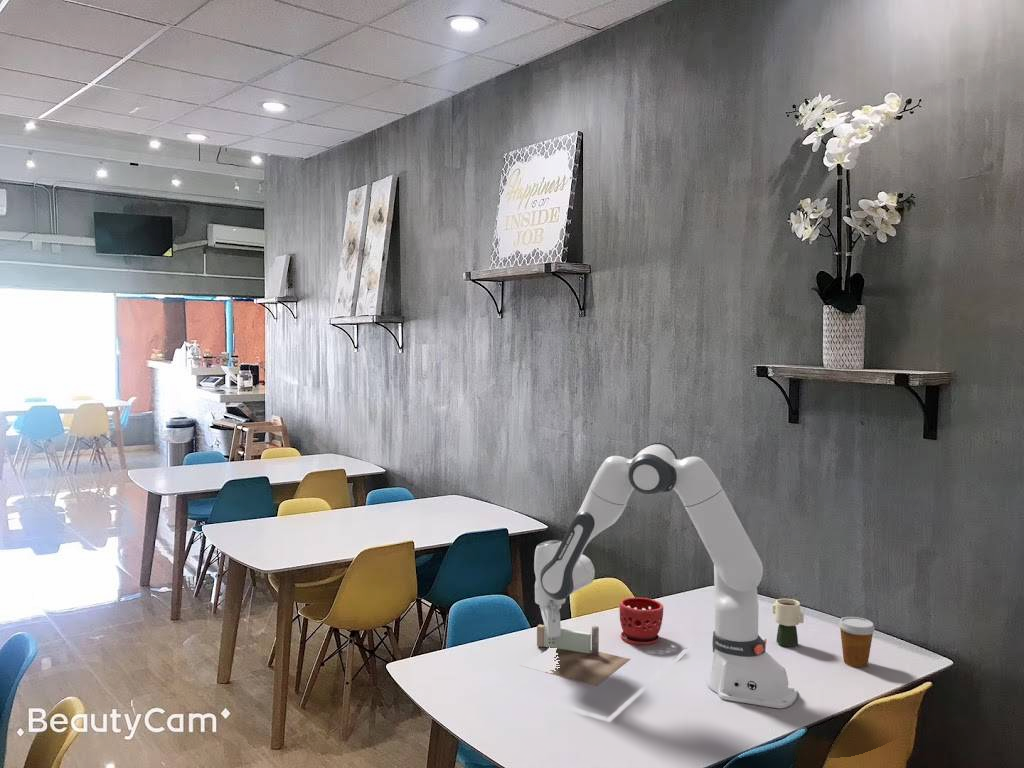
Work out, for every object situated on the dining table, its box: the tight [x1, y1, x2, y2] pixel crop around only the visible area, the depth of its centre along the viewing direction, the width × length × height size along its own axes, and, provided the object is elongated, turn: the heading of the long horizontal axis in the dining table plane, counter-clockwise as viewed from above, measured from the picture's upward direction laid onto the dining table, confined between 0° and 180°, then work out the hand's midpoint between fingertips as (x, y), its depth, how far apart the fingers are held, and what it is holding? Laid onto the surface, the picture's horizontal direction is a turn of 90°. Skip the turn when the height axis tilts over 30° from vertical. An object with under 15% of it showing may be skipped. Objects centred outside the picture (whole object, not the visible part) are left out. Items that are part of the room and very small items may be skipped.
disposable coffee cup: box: [838, 616, 876, 669], centre depth 228 cm, size 10×10×12 cm
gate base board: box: [545, 625, 631, 687], centre depth 226 cm, size 24×21×9 cm
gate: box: [536, 623, 592, 653], centre depth 235 cm, size 2×16×6 cm, turn 69°
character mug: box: [772, 598, 805, 647], centre depth 242 cm, size 11×7×13 cm, turn 34°
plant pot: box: [619, 597, 664, 647], centre depth 244 cm, size 13×13×12 cm
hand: (551, 643), depth 234 cm, fingers closed
